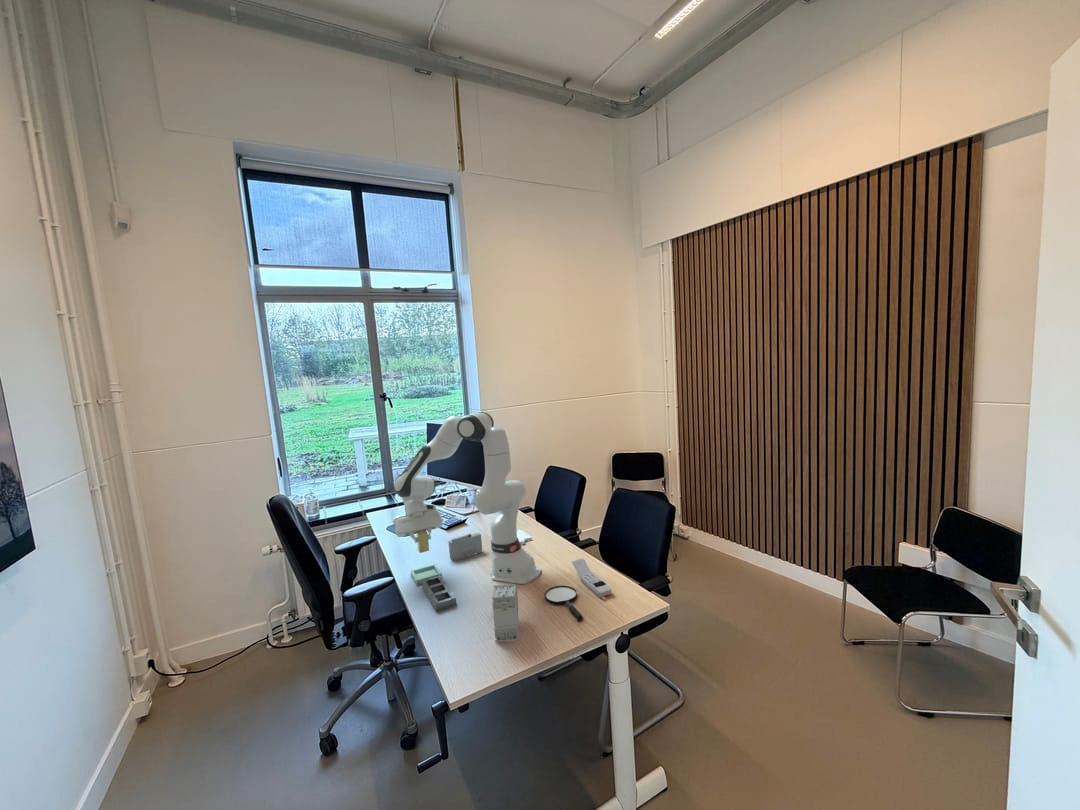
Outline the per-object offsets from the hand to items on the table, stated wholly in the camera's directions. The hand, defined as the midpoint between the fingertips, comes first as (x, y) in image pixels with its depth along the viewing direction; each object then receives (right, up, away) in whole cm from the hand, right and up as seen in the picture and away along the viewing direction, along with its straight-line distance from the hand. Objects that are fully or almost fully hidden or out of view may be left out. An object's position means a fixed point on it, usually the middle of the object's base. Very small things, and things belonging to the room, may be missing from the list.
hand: (423, 540), depth 187 cm
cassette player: (+15, -14, +21) cm, 30 cm away
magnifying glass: (+61, -16, -27) cm, 69 cm away
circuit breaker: (+40, -18, -40) cm, 59 cm away
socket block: (+10, -17, -16) cm, 25 cm away
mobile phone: (+72, -14, -15) cm, 75 cm away
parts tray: (+1, -16, +2) cm, 17 cm away
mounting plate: (+38, -12, +37) cm, 54 cm away
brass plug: (0, -5, +1) cm, 5 cm away
